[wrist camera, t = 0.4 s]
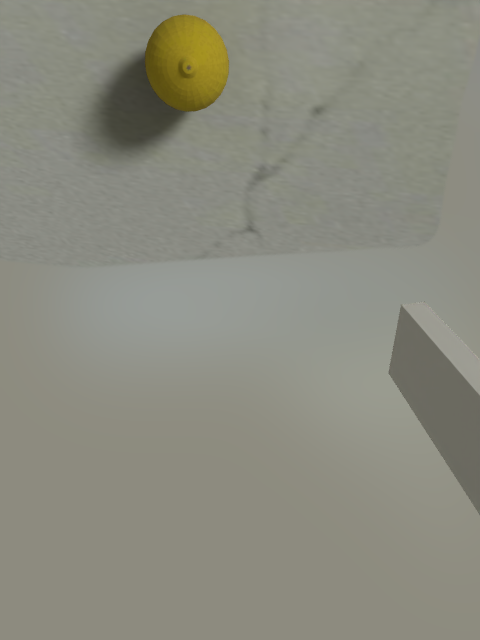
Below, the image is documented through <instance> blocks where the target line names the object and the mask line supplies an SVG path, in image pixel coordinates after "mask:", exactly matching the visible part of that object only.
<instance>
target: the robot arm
mask: <svg viewBox="0 0 480 640" xmlns="http://www.w3.org/2000/svg"><path fill="white" fill-rule="evenodd" d="M389 375H390V376H391V378H392V379H393V381H394V382H395V384H396V385H397V387H398V388H399V390H400V392H401V393H402V395H403V396H404V398H405V399H406V401H407V402H408V404H409V405H410V407H411V409H412V410H413V412H414V413H415V415H416V416H417V418H418V420H419V421H420V423H421V424H422V426H423V427H424V429H425V430H426V432H427V434H428V435H429V437H430V438H431V440H432V441H433V443H434V444H435V446H436V448H437V449H438V451H439V452H440V454H441V455H442V457H443V458H444V460H445V461H446V463H447V465H448V466H449V467H450V469H451V471H452V472H453V474H454V476H455V477H456V479H457V480H458V482H459V483H460V485H461V486H462V488H463V490H464V491H465V492H466V494H467V495H468V497H469V499H470V500H471V502H472V503H473V505H474V507H475V508H476V510H477V511H478V513H479V514H480V359H479V358H478V357H477V356H476V355H475V354H474V353H473V352H472V351H471V350H470V349H469V348H468V347H467V346H466V345H465V343H464V342H463V341H462V340H461V339H460V338H459V337H458V336H457V335H456V334H455V333H454V332H453V331H452V330H451V329H450V328H449V327H448V326H447V325H446V324H445V323H444V322H443V321H442V320H441V319H440V317H439V316H437V314H436V313H435V312H434V311H433V310H432V309H431V308H430V307H429V306H428V305H427V304H426V303H424V302H421V303H412V304H402V305H401V308H400V314H399V320H398V325H397V330H396V336H395V341H394V346H393V352H392V357H391V363H390V369H389Z"/></svg>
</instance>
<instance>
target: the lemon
mask: <svg viewBox="0 0 480 640" xmlns="http://www.w3.org/2000/svg"><path fill="white" fill-rule="evenodd" d="M145 67H146V73H147V77H148V79H149V82H150V84H151V87H152V88H153V90H154V91H155V93H156V94H157V95H158V97H159V98H160V99H161V100H163V101H164V102H165V103H166V104H167V105H169V106H171V107H173V108H175V109H177V110H182V111H198V110H201V109H204V108H206V107H208V106H209V105H211V104H212V103H214V102H215V100H216V99H217V98H218V97H219V96H220V95H221V93H222V91H223V89H224V87H225V85H226V82H227V78H228V74H229V60H228V55H227V49H226V47H225V45H224V42H223V40H222V38H221V37H220V35H219V34H218V33H217V31H216V30H215V29H214V28H213V27H212V26H211V25H210V24H209V23H207V22H206V21H205V20H202V19H200V18H198V17H196V16H191V15H178V16H173V17H171V18H169V19H167V20H165V21H163V22H162V23H161V24H160V25H159V26H158V27H157V28H156V29H155V30H154V32H153V33H152V35H151V37H150V39H149V41H148V44H147V48H146V52H145Z"/></svg>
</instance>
